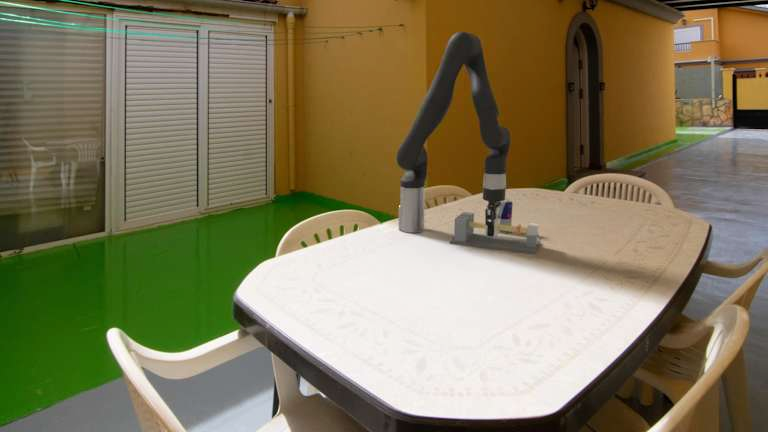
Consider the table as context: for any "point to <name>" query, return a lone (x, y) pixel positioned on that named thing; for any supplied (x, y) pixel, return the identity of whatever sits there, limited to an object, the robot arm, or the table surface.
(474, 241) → the grey base plate
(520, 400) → the table surface
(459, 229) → the cord rig
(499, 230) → the sleeve
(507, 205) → the energy drink
